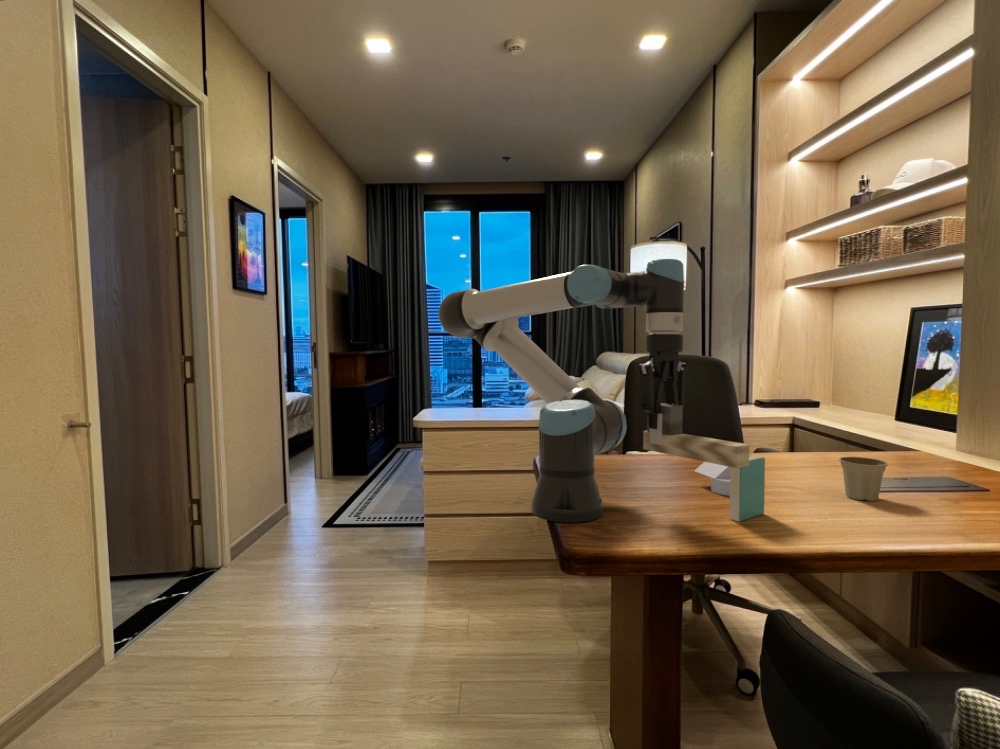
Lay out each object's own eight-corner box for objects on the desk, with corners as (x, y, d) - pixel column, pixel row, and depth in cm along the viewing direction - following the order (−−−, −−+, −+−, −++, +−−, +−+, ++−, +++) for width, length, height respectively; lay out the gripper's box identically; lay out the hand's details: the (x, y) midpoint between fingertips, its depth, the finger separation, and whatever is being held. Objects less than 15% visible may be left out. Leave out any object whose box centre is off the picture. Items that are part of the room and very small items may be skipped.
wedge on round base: (693, 484, 138) (726, 497, 125) (694, 457, 137) (726, 468, 125) (724, 481, 140) (759, 494, 127) (725, 456, 139) (760, 466, 127)
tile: (740, 522, 107) (741, 462, 107) (729, 519, 109) (730, 460, 109) (764, 513, 113) (765, 457, 112) (754, 511, 114) (754, 455, 114)
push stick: (748, 465, 102) (750, 412, 101) (736, 468, 99) (738, 414, 99) (655, 447, 120) (655, 402, 119) (643, 449, 117) (643, 403, 117)
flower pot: (890, 497, 124) (891, 460, 124) (883, 506, 117) (884, 467, 117) (842, 490, 130) (843, 454, 130) (834, 498, 124) (834, 461, 123)
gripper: (652, 332, 106) (650, 449, 108) (704, 333, 116) (702, 441, 117) (623, 333, 112) (622, 444, 114) (675, 334, 122) (673, 436, 123)
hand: (662, 442), depth 116 cm, fingers closed on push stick, 4 cm apart
